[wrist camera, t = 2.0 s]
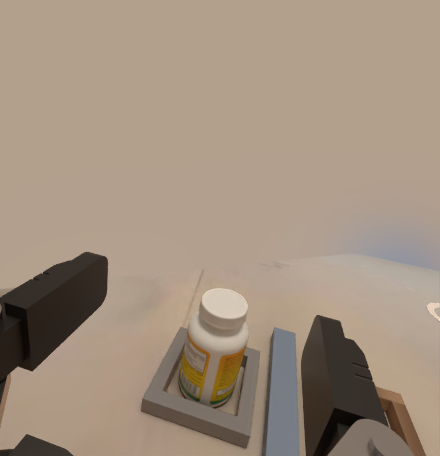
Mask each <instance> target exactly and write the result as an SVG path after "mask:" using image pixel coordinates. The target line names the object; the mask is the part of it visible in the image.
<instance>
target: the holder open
mask: <svg viewBox="0 0 440 456" xmlns="http://www.w3.org/2000/svg"><path fill="white" fill-rule="evenodd" d="M186 335H187V329H186V328H182V327H180V329H179V331H178V332H177V334H176V336H175V338H174V340H173V342H172V344H171V346H170V348H169V349H168V351H167V353H166V355H165V357H164V359H163V361H162V363H161V365H160V366H159V368H158V370H157V372H156V374H155V376H154V378H153V380H152V382H151V383H150V385H149V387H148V389H147V391H146V393H145V395H144V397H143V399H142V408H141V411H143V412H146V413H148V414H151V415H154V416H157V417H160V418H162V419H165V420H168V421H171V422H174V423H176V424H179V425H182V426H185V427H188V428H190V429H193V430H196V431H199V432H202V433H204V434H207V435H210V436H213V437H216V438H219V439H221V440H224V441H227V442H230V443H233V444H235V445H238V446H241V447H244V448H246V447H247V444H248V441H249V438H250V432H251V424H252V416H253V407H254V399H255V391H256V383H257V375H258V366H259V358H260V351H258V350H254V349H251V348H248V347H246V349H245V352H244V355H243V359H242V362H241V366H243V367H245V369H244V375H243V380H242V386H241V392H240V397H239V403H238V408H237V414H236V416H235V415H232V414H229V413H226V412H223V411H220V410H217V409H214V408H211V407H208V406H205V405H202V404H200V403H197V402H194V401H191V400H188V399H185V398H182V397H179V396H176V395H173V394H170V393H167V392H166V390H167V387H168V385H169V383H170V381H171V379H172V376H173V374H174V372H175V370H176V368H177V365H178V363H179V361H180V359H181V357H182V355H183V352H184V346H185V340H186Z"/></svg>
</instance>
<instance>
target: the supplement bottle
mask: <svg viewBox="0 0 440 456" xmlns="http://www.w3.org/2000/svg"><path fill="white" fill-rule="evenodd" d="M247 311H248V304H247V302H246V300H245V299H244V298H243V297H242V296H241V295H240V294H238V293H237V292H234V291H232V290H229V289H224V288H215V289H211V290H208V291H207V292H205V293H204V294H203V296H202V298H201V303H200V307H199V310H198V311H196V312H195V313H194V314H193V315H192V317H191V319H190V321H189V324H188V329H187V335H186V340H185V346H184V352H183V357H182V363H181V369H180V374H179V385H180V389H181V391H182V393H183V395H184V396H185V397H186V398H187V399H188V400H191V401H194V402H197V403H200V404H202V405H205V406H208V407H211V408H213V407H217V406H219V405H221V404H223V403H225V402H226V401H227V400H228V399H229V398H230V397H231V395H232V393H233V390H234V387H235V384H236V380H237V376H238V373H239V369H240V366H241V362H242V359H243V355H244V352H245V349H246V345H247V341H248V337H249V331H248V327H247V324H246V322H245V321H246V316H247Z"/></svg>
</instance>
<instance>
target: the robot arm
mask: <svg viewBox="0 0 440 456" xmlns="http://www.w3.org/2000/svg"><path fill="white" fill-rule="evenodd" d="M107 275H108V260H107V258H106V257H105V256H101V255H98V254H94V253H90V252H85V253H83V254H81V255H80V256H78V257H76V258H75V259H73V260H71V261H66V262H63V263H60V264H56V265H54V266H52V267H51V268H49V269H47V270H46V271H44V272H43V274H39V275H37V276H35V277H34V278H33V280H32V279H30V280H29V281H27V282H25V283H24V284H22V285H20V286H19V287H17V288H15V289H14V290H12V291H10V292H9V293H7V294H5V295H3V296H2V297H0V426H1V422H2V417H3V413H4V408H5V404H6V399H7V395H8V390H9V386H10V382H11V374H10V373H11V372H12V371H13V370H14V369H15V368H16V367H21V368H24V369H27V370H30V371H33V370H34V369H35V368H36V367H37V366H39V365H40V364H41V363H42V362H43V361H44V360H45V359H46V358H47V357H48V356H49V355H50V354H51V353H52V352H53V351H54V350H55V349H56V348H57V347H58V346H59V345H60V344H61V343H63V342H64V341H65V340H66V339H67V338H68V337H69V336H70V335H71V334H72V333H73V332H74V331H75V330H76V329H77V328H78V327H79V326H80V325H81V324H82V323H83V322H84V321H85V320H87V319H88V318H89V317H90V316H91V315H92V314H93V313H94V312H95V311H96V310H97V309H98V308H99V307H100V306H101V305H102V303H103V302H104V300H105V297H106V294H107V277H108V276H107ZM368 368H369V367H368V364H367V361H366V358H365V355H364V353H363V352H362V350H361V349H360V348H359V347H358V345H357V344H356V343H355V341H354V340H351V339H347V338H345V337H344V333H343V329H342V326H341V322H340V321H338V320H334V319H331V318H327V317H323V316H320V315H317V316H316V317H315V319H314V321H313V324H312V327H311V330H310V333H309V335H308V338H307V341H306V344H305V347H304V350H303V354H302V360H301V376H302V393H303V411H304V428H305V446H306V456H414V455H413V453H412V451H411V450H410V448H409V447H408V445H407V444H406V443H405V442H404V441H403V440H402V438H401V437H400V436H399V435H397V434H396V433H395V432H394V431H393V430H391V429H390V428H389V426H388V423H387V420H386V417H385V414H384V411H383V408H382V405H381V402H380V399H379V396H378V393H377V390H376V387H375V385H374V382H372V376H371V373H370V370H368ZM0 456H73V455H72V454H71V453H70V452H69V451H67V450H66V449H64V448H62V447H59V446H56V445H54V444H51V443H49V442H46V441H43V440H41V439H38V438H36V437H33V436H31V435H28V434H26V435H25V437H24V438H23V439H22V440H21V441H20V443H19V444H18V445H17V446H16V447H15V448H14V449H6V450H0Z"/></svg>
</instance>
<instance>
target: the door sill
mask: <svg viewBox="0 0 440 456" xmlns="http://www.w3.org/2000/svg"><path fill="white" fill-rule="evenodd" d="M262 456H300V455H299V426H298V396H297V367H296V338H295V333H293V332H289V331H286V330H282V329H279V328H275V327H274V331H273V334H272V337H271V350H270V363H269V376H268V388H267V401H266V414H265V427H264V440H263V452H262Z"/></svg>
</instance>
